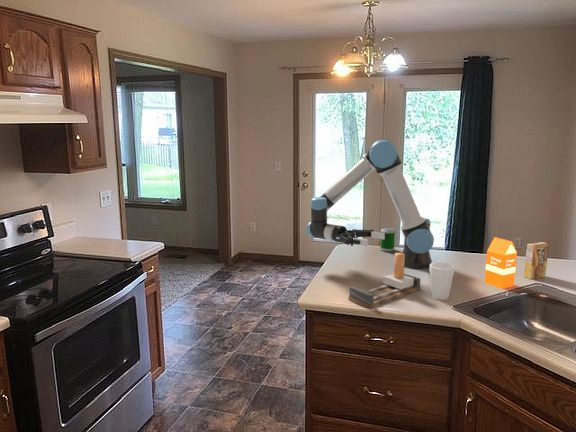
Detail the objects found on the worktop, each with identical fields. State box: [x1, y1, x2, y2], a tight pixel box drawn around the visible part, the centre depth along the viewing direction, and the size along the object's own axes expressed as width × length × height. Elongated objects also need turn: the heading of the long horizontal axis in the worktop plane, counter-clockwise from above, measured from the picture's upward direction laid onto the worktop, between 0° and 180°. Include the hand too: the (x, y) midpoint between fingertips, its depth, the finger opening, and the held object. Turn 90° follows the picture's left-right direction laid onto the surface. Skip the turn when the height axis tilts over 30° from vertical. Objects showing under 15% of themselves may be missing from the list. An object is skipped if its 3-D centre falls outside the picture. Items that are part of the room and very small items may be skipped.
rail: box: [348, 273, 422, 309], centre depth 187 cm, size 31×11×5 cm, turn 127°
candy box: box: [523, 241, 550, 280], centre depth 205 cm, size 9×4×15 cm, turn 110°
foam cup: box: [428, 261, 456, 301], centre depth 183 cm, size 10×9×13 cm
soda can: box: [379, 226, 396, 253], centre depth 250 cm, size 8×8×12 cm
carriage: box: [383, 252, 414, 289], centre depth 190 cm, size 8×9×13 cm
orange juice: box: [484, 236, 518, 290], centre depth 196 cm, size 8×9×20 cm
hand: (376, 239), depth 198 cm, fingers open, 13 cm apart
